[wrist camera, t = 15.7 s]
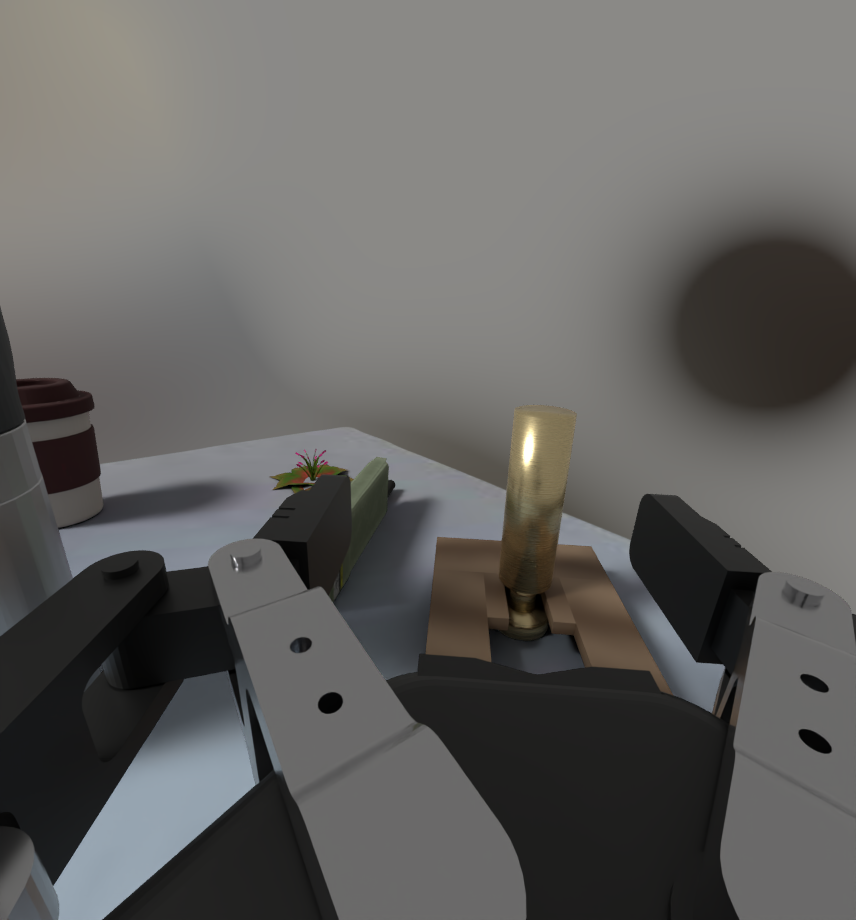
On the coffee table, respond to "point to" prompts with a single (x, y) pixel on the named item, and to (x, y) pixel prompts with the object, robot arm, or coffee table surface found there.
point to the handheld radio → (364, 514)
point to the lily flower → (306, 474)
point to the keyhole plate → (566, 603)
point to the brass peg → (534, 513)
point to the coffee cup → (63, 446)
